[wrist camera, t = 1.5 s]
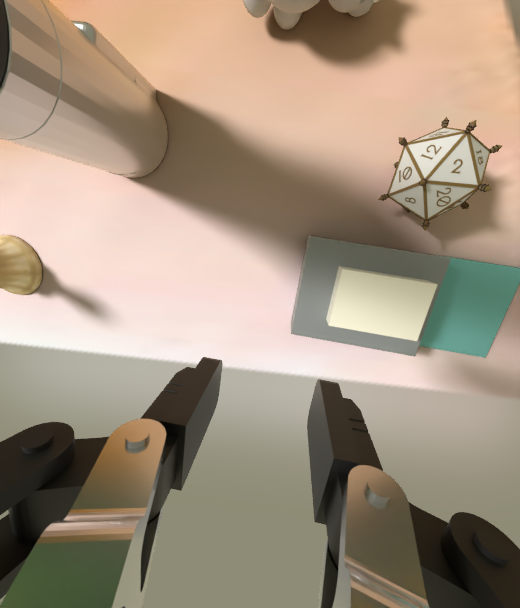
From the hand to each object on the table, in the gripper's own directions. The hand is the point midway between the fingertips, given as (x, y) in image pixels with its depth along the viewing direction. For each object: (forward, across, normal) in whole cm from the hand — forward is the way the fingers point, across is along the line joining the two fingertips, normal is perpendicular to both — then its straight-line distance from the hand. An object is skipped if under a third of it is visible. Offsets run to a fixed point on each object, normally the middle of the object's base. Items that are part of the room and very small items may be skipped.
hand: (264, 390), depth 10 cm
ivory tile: (+19, -10, 0) cm, 22 cm away
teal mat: (+23, -21, 0) cm, 32 cm away
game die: (+23, -12, -13) cm, 29 cm away
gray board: (+23, -9, 0) cm, 25 cm away
